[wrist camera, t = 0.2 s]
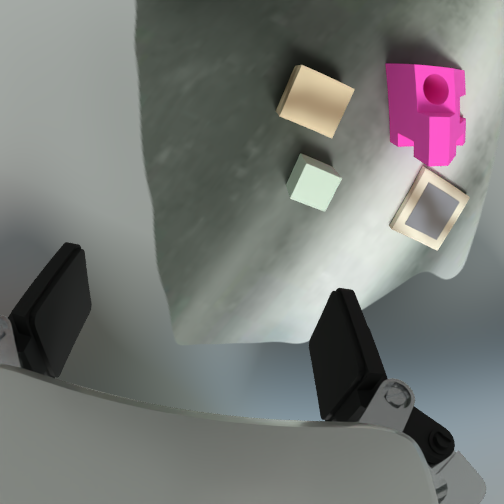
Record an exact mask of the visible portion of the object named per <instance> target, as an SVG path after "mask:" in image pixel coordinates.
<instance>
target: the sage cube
mask: <svg viewBox="0 0 504 504" xmlns="http://www.w3.org/2000/svg"><path fill="white" fill-rule="evenodd" d="M341 179H342V178H341V177H340V175H339V174H338V173H337V172H336V170H335V169H334V168H333V167H332V166H330V165H327V164H325V163H323V162H320V161H318V160H316V159H313V158H311V157H309V156H306V155H304V154H301V153H300V155H299V157H298V160H297V162H296V164H295V166H294V168H293V171H292V173H291V175H290V177H289V179H288V182H287V184H286V187H287V190H288V193H289V197H290V199H293V200H295V201H298V202H301V203H303V204H306V205H309V206H311V207H314V208H317V209H319V210H322V211H324V212H325V210H326V209H327V207H328V205H329V203H330V201H331V199H332V197H333V195H334V193H335V191H336V189H337V187H338V185H339V183H340V181H341Z"/></svg>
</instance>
